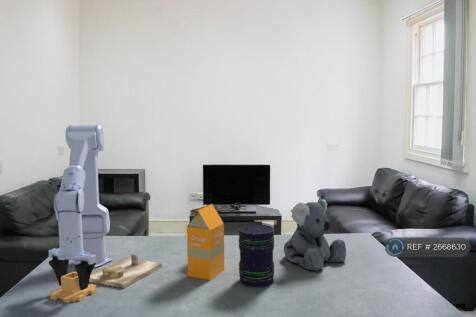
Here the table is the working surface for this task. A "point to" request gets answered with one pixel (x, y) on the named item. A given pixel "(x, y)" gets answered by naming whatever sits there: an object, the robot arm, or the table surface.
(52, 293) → the gear
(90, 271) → the robot arm
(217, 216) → the orange juice
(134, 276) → the carrier plate
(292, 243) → the koala plush
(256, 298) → the table surface
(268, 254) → the storage jar
